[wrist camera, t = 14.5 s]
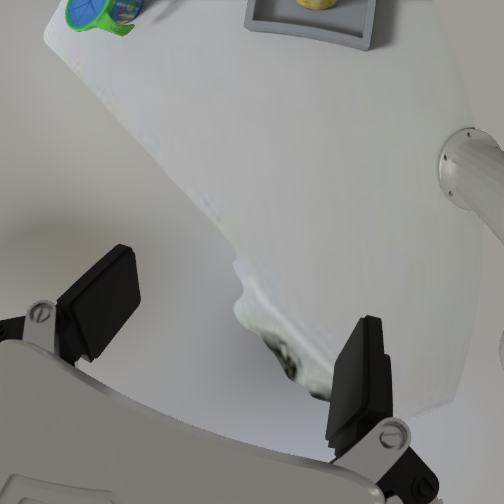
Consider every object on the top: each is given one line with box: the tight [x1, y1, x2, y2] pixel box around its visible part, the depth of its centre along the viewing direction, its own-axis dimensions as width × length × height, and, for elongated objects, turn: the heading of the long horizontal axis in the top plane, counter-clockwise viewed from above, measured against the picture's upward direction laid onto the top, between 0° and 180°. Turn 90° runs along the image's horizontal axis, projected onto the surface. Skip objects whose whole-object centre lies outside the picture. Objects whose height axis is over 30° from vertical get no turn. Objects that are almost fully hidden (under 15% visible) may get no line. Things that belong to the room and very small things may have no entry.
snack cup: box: [65, 0, 142, 36], centre depth 27 cm, size 16×11×10 cm
